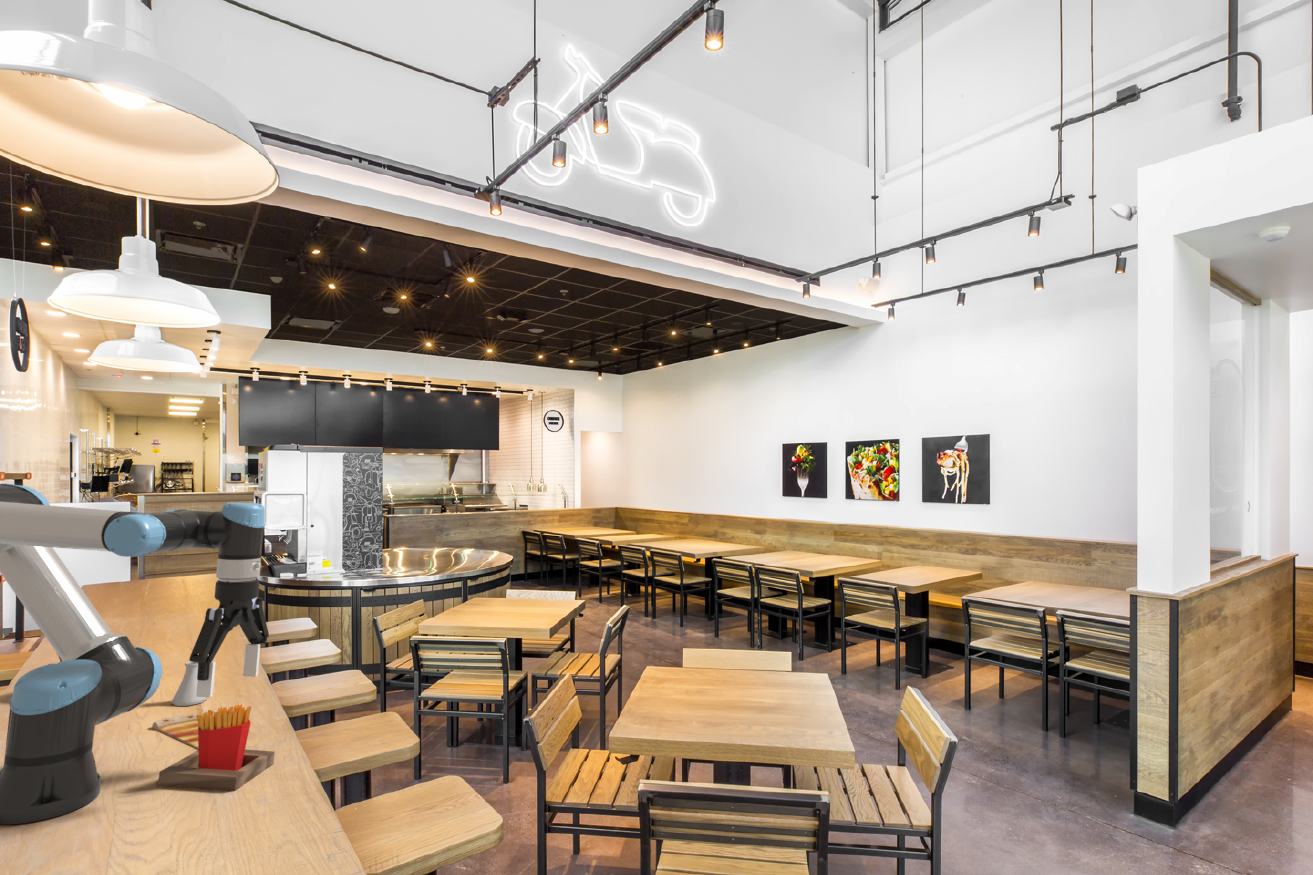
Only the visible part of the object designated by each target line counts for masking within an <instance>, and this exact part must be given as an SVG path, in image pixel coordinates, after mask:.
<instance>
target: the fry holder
mask: <svg viewBox="0 0 1313 875" xmlns="http://www.w3.org/2000/svg"><path fill="white" fill-rule="evenodd" d="M275 752H276V751H271V750H257V749H246V748H245V752H244V757H243V762H242V767H241V769H239V770H238V771H233V770H218V769H204V768H199V754H198V750H196V751H195V752H193V753H191V754H189V755H187V756H186V757H183V758H181V759H179V760H178V761H177V762H174V763H172V764H170V765H169V766H167V767H165V768H164V769H162V770H160V771H159V774H158V783H157V786H162V787H164V786H165V787H178V788H191V789H207V790H221V791H223V790H224V791H237V790H238V789H239V788H241V787H242V786H244V785H245V784H247V783H249V782H250V781H252V779H254V778H255V777H257V776H258V775H261V773H262V772H264V771H265V770H267V769H268V768H270V767H272V766H273V765H274V764H275V763H274V762H275Z"/></svg>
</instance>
